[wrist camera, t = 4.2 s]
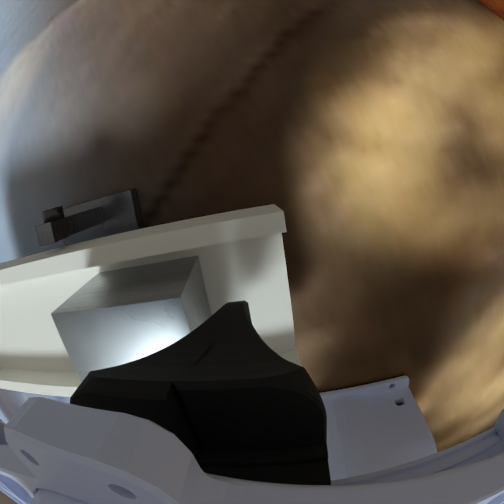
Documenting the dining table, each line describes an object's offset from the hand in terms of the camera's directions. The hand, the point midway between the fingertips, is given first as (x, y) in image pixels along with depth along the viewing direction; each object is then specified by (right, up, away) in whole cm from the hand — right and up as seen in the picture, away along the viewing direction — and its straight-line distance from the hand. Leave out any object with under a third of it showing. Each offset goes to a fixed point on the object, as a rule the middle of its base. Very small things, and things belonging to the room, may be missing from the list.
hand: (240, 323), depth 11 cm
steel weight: (-4, 0, +2) cm, 4 cm away
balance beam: (-9, -1, +2) cm, 9 cm away
